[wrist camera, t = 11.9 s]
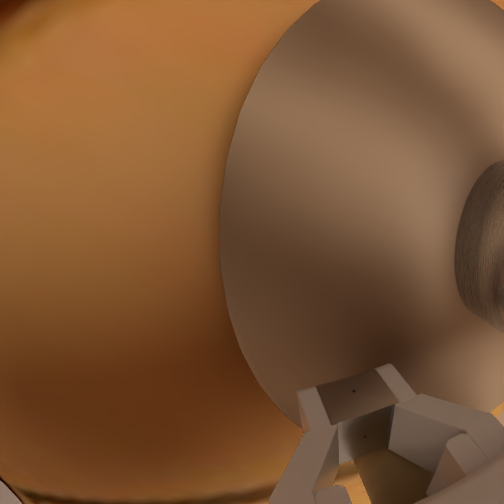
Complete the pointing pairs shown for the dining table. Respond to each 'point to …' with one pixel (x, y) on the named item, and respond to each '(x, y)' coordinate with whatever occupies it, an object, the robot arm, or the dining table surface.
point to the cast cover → (483, 248)
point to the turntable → (365, 208)
